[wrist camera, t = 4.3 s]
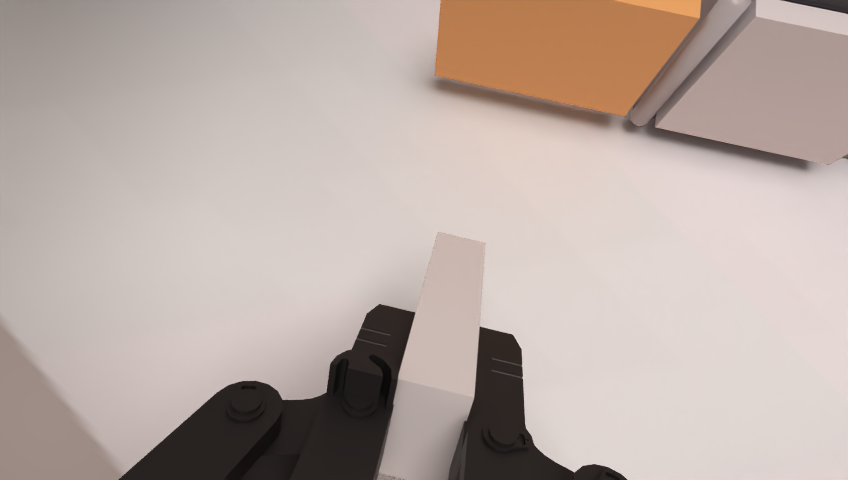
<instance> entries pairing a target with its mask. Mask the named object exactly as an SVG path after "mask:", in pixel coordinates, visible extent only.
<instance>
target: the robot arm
mask: <svg viewBox="0 0 848 480" xmlns="http://www.w3.org/2000/svg"><path fill="white" fill-rule="evenodd" d="M485 245H486V243H483V242H479V241H474V240H470V239H466V238H461V237H457V236H453V235H448V234H444V233H440V232H438V233H437V237H436V240H435V244H434V248H433V251H432V255H431V259H430V262H429V266H428V269H427V273H426V277H425V280H424V284H423V288H422V291H421V295H420V299H419V302H418V306H417V310H416V313H415V312H410V311H406V310H402V309H398V308H394V307H390V306H385V305H381V304H379V305H378V306H376V307H375V308H374V309H372V310H371V311H370V312H368V313H367V315H366V317H365V320H364V322H363V324H362V327H361V329H360V331H359V334H358V336H357V339H356V341H355V343H354V346H353V348H352V350H347V351H345V352H343V353H341V354H339V355H338V356H336V358H335V359H334V360H333V361H332V362H331V364H330V371H329V379H328V387H327V393H325V394H323V395H321V396H318V397H315V398H312V399H304V400H282V398H281V397H280V395H279V393H278V391H277V390H275V389H274V388H273V387H271V386H270V385H268V384H265V383H261V382H258V381H242V382H238V383H235V384H231V385H228V386H227V387H225V388H224V389H222V390H220V391H219V392H217V393H216V394H215V395H214V396H213V397H212V398H210V399H209V400H208V401H207V402H206V403H205V404H204V405H203V406H201V407H200V408H199V409H198V410H197V411H196V412H195V413H193V414H192V415H191V416H190V417H189V418H188V419H187V420H186V421H184V422H183V423H182V424H181V425H180V426H179V427H178V428H177V429H175V430H174V431H173V432H172V433H171V434H170V435H169V436H167V437H166V438H165V439H164V440H163V441H162V442H161V443H160V444H158V445H157V446H156V447H155V448H154V449H153V450H152V451H150V452H149V453H148V454H147V455H146V456H145V457H144V458H143V459H141V460H140V461H139V462H138V463H137V464H136V465H135V466H133V467H132V468H131V469H130V470H129V471H128V472H127V473H126V474H124V475H123V476H122V477H121V478H120V479H119V480H377V477H378V473H381V474H385V475H389V476H392V477H396V478H400V479H404V480H627V479H626V478H625V477H624V476H623V475H621V474H620V473H618V472H616V471H614V470H612V469H610V468H608V467H605V466H600V465H596V464H593V465H586V466H582V467H581V468H580V469H579V470H577V471H576V472H575V473H574V472H572V471H571V470H569V469H567V468H565V467H563V466H561V465H559V464H558V463H556V462H554V461H553V460H551V459H549V458H548V457H546V456H545V455H544V454H543V453H542V452H540V451H539V450H538V449H537V448H536V446H535V445H534V443H533V440H532V436H531V435H530V433H529V432H528V431H527V429H526V426H525V414H524V393H523V379H522V377H523V372H522V351H521V348H520V346H519V344H518V343H517V341H516V339H515V338H514V336H513V335H512V334H508V333H503V332H499V331H495V330H491V329H487V328H483V327H480V313H481V299H482V286H483V272H484V259H485Z"/></svg>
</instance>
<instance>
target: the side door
mask: <svg viewBox="0 0 848 480" xmlns="http://www.w3.org/2000/svg"><path fill="white" fill-rule="evenodd" d="M700 9H701V0H441V4H440V16H439V29H438V41H437V53H436V65H435V76H440V77H445V78H449V79H454V80H458V81H463V82H468V83H472V84H477V85H482V86H486V87H491V88H495V89H500V90H505V91H509V92H514V93H519V94H523V95H528V96H532V97H537V98H542V99H546V100H551V101H556V102H560V103H565V104H569V105H574V106H579V107H583V108H588V109H593V110H597V111H602V112H606V113H611V114H616V115H620V116H625V115H626V114H627V113H628V111H629V110H630V109H631V107H632V106H633V105H634V103H635V102H636V101H637V100H638V98H639V97H640V96H641V94H642V93H643V92H644V90H645V89H646V88H647V87H648V85H649V84H650V83H651V81H652V80H653V79H654V77H655V76H656V75H657V73H658V72H659V71H660V70H661V68H662V67H663V66H664V64H665V63H666V62H667V60H668V59H669V58H670V57H671V55H672V54H673V53H674V51H675V50H676V49H677V47H678V46H679V45H680V43H681V42H682V41H683V40H684V38H685V37H686V36H687V34H688V33H689V32H690V30H691V29H692V28H693V27H694V25H695V24H696V23H697V21H698V20H699V19H700ZM656 112H657V113H656ZM655 114H656V123H655V127H656V128H661V129H665V130H670V131H674V132H679V133H684V134H688V135H693V136H698V137H702V138H707V139H711V140H716V141H721V142H725V143H730V144H734V145H739V146H744V147H748V148H753V149H758V150H762V151H767V152H771V153H776V154H781V155H785V156H790V157H794V158H799V159H804V160H808V161H813V162H818V163H822V164H827V165H829V164H831V163H833V162H835V161H836V160H838V159H840V158H842V157H844V156H845V155H847V154H848V14H845V13H840V12H835V11H830V10H826V9H821V8H816V7H811V6H806V5H801V4H796V3H791V2H786V1H782V0H718V2H717V3H716V4H715V5H714V7H713V8H712V9H711V11H710V12H709V13H708V14H707V16H706V17H705V18H704V20H703V21H702V22H701V23H700V25H699V26H698V27H697V29H696V30H695V31H694V32H693V34H692V35H691V36H690V38H689V39H688V40H687V41H686V43H685V44H684V45H683V47H682V48H681V49H680V50H679V52H678V53H677V54H676V56H675V57H674V58H673V59H672V61H671V62H670V63H669V65H668V66H667V67H666V68H665V70H664V71H663V72H662V74H661V75H660V76H659V77H658V79H657V80H656V81H655V82H654V84H653V85H652V86H651V88H650V89H649V90H648V91H647V93H646V94H645V95H644V97H643V98H642V99H641V100H640V102H639V103H638V104H637V106H636V107H635V108H634V109H633V111H632V112H631V113H630V120H631V122H632V123H633V124H635V125H637V126H644V125H646V124H647V123H648V122H649V120H650V119H651V118H652V117H653V116H654V115H655Z"/></svg>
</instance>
